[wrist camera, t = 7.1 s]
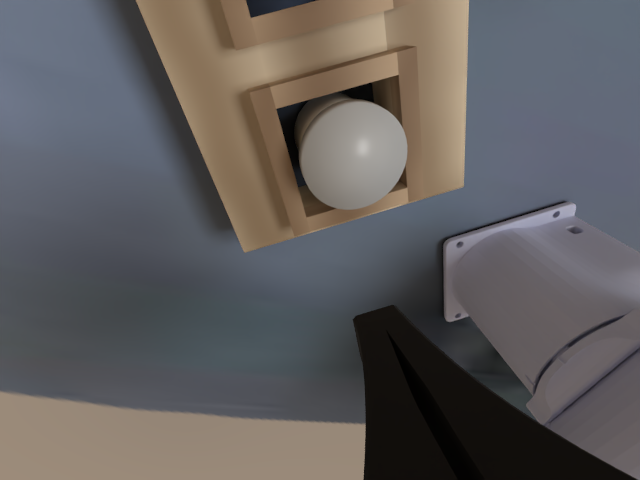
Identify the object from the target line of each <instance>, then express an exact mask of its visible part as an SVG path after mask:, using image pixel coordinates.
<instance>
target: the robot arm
mask: <svg viewBox="0 0 640 480" xmlns="http://www.w3.org/2000/svg"><path fill="white" fill-rule="evenodd" d="M575 210H576V205H575V204H574V203H572V202H565V203H562V204H559V205H556V206H552V207H549V208H546V209H543V210H540V211H536V212H533V213H530V214H527V215H523V216H520V217H517V218H514V219H510V220H507V221H504V222H501V223H497V224H494V225H491V226H488V227H484V228H481V229H478V230H475V231H471V232H468V233H465V234H462V235H459V236H455V237H452V238H449V239H447V240H446V241H445V243H444V245H443V268H444V318H445V319H446V321H448V322H452V321H455V320H458V319H461V318H465V317H468V316H470V318H471V319H472V320H473V321H474V323H475V324H476V325H477V326H478V328H479V329H480V330H481V331H482V333H483V334H484V335H485V336H486V338H487V339H488V340H489V341H490V342H491V344H492V345H493V346H494V347H495V349H496V350H497V351H498V352H499V354H500V355H501V356H502V357H503V359H504V360H505V361H506V362H507V364H508V365H509V366H510V367H511V369H512V370H513V371H514V372H515V374H516V375H517V376H518V377H519V379H520V380H521V381H522V382H523V384H524V385H525V386H526V387H527V389H528V390H529V391H530V392H531V394H532V395H533V397H532V399H531V400H530V401H529V402H528V403H527V404H526V406H527V408H528V409H529V410H530V412H531V413H532V414H533V415H534V417H535V418H536V419H537V421H538V422H537V421H535V420H534V419H532V418H531V417H529V416H528V415H526V414H525V413H523V412H522V411H520V410H519V409H517V408H516V407H514V406H513V405H511V404H510V403H508V402H507V401H505V400H504V399H503V398H501V397H500V396H498V395H497V394H496V393H494V392H493V391H491V390H490V389H489V388H487V387H486V386H485V385H483V384H482V383H481V382H479V381H478V380H477V379H475V378H474V377H473V376H472V375H470V374H469V373H468V372H467V371H465V370H464V369H463V368H461V367H460V366H459V365H458V364H457V363H455V362H454V361H453V360H452V359H451V358H449V357H448V356H447V355H446V354H445V353H444V352H443V351H441V350H440V349H439V348H438V347H437V346H436V345H435V344H433V343H432V342H431V341H430V340H429V339H428V338H427V337H426V336H425V335H424V334H423V333H422V332H421V331H420V330H419V329H417V328H416V327H415V326H414V325H413V324H412V323H411V322H410V321H409V320H408V319H407V318H406V316H405V315H404V314H403V313H402V312H401V311H400V310H399V309H398V308H397V307H396V306H394V305H390V306H387V307H384V308H380V309H377V310H374V311H371V312H367V313H364V314H361V315H357V316H355V318H354V319H353V322H354V327H355V332H356V337H357V342H358V347H359V352H360V356H361V359H362V362H363V370H364V381H365V406H366V439H365V441H366V442H365V464H364V465H365V466H364V480H640V253H639V252H637V251H636V250H634V249H632V248H630V247H629V246H627V245H625V244H623V243H621V242H620V241H618V240H616V239H614V238H613V237H611V236H609V235H607V234H606V233H604V232H602V231H600V230H598V229H597V228H595V227H593V226H591V225H590V224H588V223H586V222H584V221H583V220H581V219H579V218H577V217H575V216H574V214H575ZM458 242H460V243H459V244H457V243H458Z"/></svg>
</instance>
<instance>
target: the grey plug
mask: <svg viewBox="0 0 640 480" xmlns="http://www.w3.org/2000/svg"><path fill="white" fill-rule="evenodd" d="M294 139H295V144H296V147H297V149H298V151H299V163H300V169H301V172H302V175H303V177H304V179H305V182H306V184H307V186H308V188H309V189H310V191H311V192H312V193H313V194H314V196H315V197H316V198H318V199H319V200H320V201H321V202H323V203H325V204H326V205H328V206H331V207H334V208H337V209H344V210H352V209H359V208H363V207H366V206H369V205H371V204H373V203H375V202H377V201H378V200H380V199H382V198H383V197H384V196H385V195H387V194H388V193H389V192H390V191H391V190H392V188H393V187H394V186H395V185H396V183H397V182H398V180H399V179H400V177H401V175H402V173H403V170H404V167H405V164H406V160H407V140H406V136H405V132H404V130H403V128H402V126H401V124H400V123H399V121H398V120H397V119H396V118H395V116H394V115H392V114H391V113H390V112H389V111H387V110H386V109H384V108H382V107H380V106H379V105H377V104H375V103H372V102H370V101H366V100H361V99H352V98H351V97H349V96H347V95H345V94H342V93H337V92H335V93H331V94H328V95H324V96H321V97H317V98H313V99H311V100H310V101H308V102H307V103H306V104H305V105H304V107H303V108H302V109H301V111H300V112H299V114H298V116H297V119H296V122H295V126H294Z"/></svg>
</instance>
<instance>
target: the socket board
mask: <svg viewBox="0 0 640 480" xmlns="http://www.w3.org/2000/svg"><path fill="white" fill-rule="evenodd" d="M136 2H137V4H138V7H139V9H140V11H141V14H142V16H143V18H144V21H145V23H146V25H147V28H148V30H149V32H150V35H151V37H152V39H153V42H154V44H155V46H156V49H157V51H158V53H159V56H160V58H161V60H162V63H163V65H164V67H165V70H166V72H167V74H168V76H169V79H170V81H171V83H172V86H173V88H174V90H175V93H176V95H177V97H178V100H179V102H180V104H181V107H182V109H183V111H184V114H185V116H186V118H187V121H188V123H189V125H190V128H191V130H192V132H193V135H194V137H195V139H196V142H197V144H198V146H199V149H200V151H201V153H202V156H203V158H204V160H205V163H206V165H207V167H208V169H209V172H210V174H211V176H212V179H213V181H214V183H215V186H216V188H217V190H218V193H219V195H220V197H221V200H222V202H223V204H224V207H225V209H226V211H227V214H228V216H229V218H230V221H231V223H232V225H233V228H234V230H235V232H236V235H237V237H238V239H239V242H240V244H241V246H242V249H243V251H244V253H245V252H249V251H252V250H255V249H259V248H262V247H265V246H269V245H272V244H275V243H279V242H282V241H285V240H288V239H292V238H295V237H298V236H302V235H305V234H308V233H312V232H315V231H318V230H322V229H325V228H328V227H332V226H335V225H338V224H342V223H345V222H348V221H352V220H355V219H358V218H362V217H365V216H368V215H372V214H375V213H378V212H382V211H385V210H388V209H392V208H395V207H398V206H402V205H405V204H408V203H411V202H415V201H418V200H421V199H425V198H428V197H431V196H435V195H438V194H441V193H445V192H448V191H451V190H455V189H458V188H461V187H464V159H465V122H466V86H467V50H468V14H469V0H317V1H313V2H310V3H306V4H302V5H298V6H294V7H291V8H287V9H283V10H279V11H275V12H272V13H268V14H264V15H260V16H256V17H253V18H251V17H250V13H249V10H248V6H247V3H246V0H136ZM371 82H372V89H373V97H374V103H375V104H377V105H379V106H380V107H382V108H384V109H386V110H387V111H389V112H390V113H391V114H392V115H394V116H395V118H396V119H397V120H398V121H399V123H400V124H401V126H402V128H403V130H404V132H405V136H406V140H407V160H406V164H405V167H404V170H403V173H402V175H401V177H400V179H399V180H398V182H397V183H396V185H395V186H394V187H393V188H392V190H391V191H390V192H389V193H388V194H387V195H385V196H384V197H383V198H382V199H380V200H378V201H377V202H375V203H373V204H371V205H369V206H366V207H363V208H359V209H352V210H344V209H337V208H334V207H331V206H328V205H326V204H325V203H323V202H321V201H320V200H319V199H318V198H316V197H315V196H314V194H313V193H312V192H311V191H310V189H309V188H308V186H307V185H304V186H301V187H298V186H297V182H296V178H295V175H294V171H293V168H292V164H291V160H290V157H289V153H288V150H287V146H286V143H285V139H284V135H283V132H282V128H281V125H280V121H279V117H278V114H277V110H276V109H278V108H281V107H285V106H288V105H292V104H295V103H299V102H303V101H306V100H310V99H313V98H317V97H321V96H324V95H328V94H331V93H335V92H338V91H342V90H346V89H349V88H353V87H356V86H360V85H364V84H367V83H371Z"/></svg>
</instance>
